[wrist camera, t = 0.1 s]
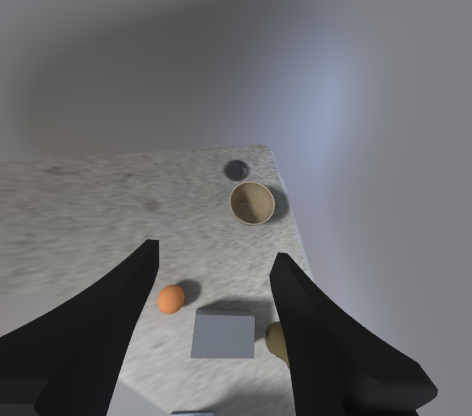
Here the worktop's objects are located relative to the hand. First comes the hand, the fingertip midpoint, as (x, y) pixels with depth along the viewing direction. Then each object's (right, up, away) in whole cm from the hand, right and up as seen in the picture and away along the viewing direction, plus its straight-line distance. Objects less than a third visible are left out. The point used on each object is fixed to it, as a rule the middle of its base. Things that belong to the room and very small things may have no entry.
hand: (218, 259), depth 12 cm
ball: (-11, -14, +25) cm, 31 cm away
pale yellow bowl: (+3, +2, +36) cm, 36 cm away
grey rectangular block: (-2, -21, +27) cm, 34 cm away
